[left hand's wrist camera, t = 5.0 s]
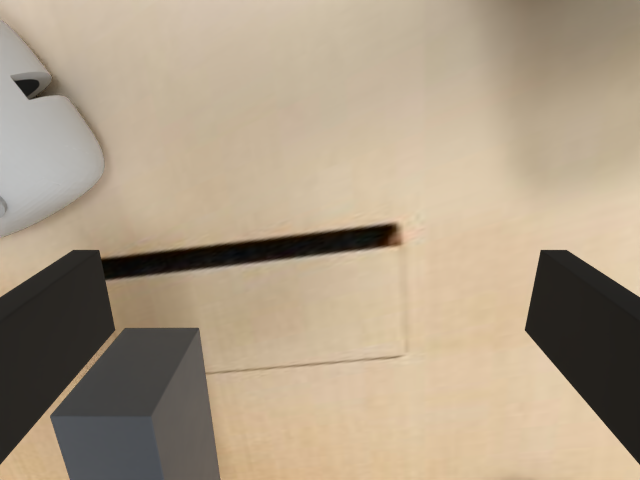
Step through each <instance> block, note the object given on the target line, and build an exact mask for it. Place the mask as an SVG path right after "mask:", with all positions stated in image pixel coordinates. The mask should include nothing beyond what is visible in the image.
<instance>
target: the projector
mask: <svg viewBox="0 0 640 480" xmlns="http://www.w3.org/2000/svg"><path fill="white" fill-rule="evenodd" d="M51 79H52V77H51V75H50V73H49V72H48V71H47V69H46V68H45V67H44V65H43V64H42V63H41V62H40V60H39V59H38V58H37V57H36V55H35V54H34V53H33V51H32V50H31V49H30V48H29V47H28V46H27V44H26V43H25V42H24V41H23V40H22V38H21V37H20V36H19V35H18V34H17V33H16V32H15V31H14V30H13V29H12V28H11V27H10V26H9V25H7V24H6V23H5V22H4V21H2V20H1V19H0V238H1V237H4V236H7V235H10V234H12V233H15V232H17V231H20V230H22V229H25V228H27V227H29V226H31V225H33V224H35V223H37V222H39V221H41V220H43V219H45V218H47V217H49V216H50V215H52V214H54V213H56V212H57V211H59V210H61V209H62V208H64V207H65V206H67V205H69V204H70V203H72V202H73V201H75V200H76V199H77V198H79V197H80V196H82V195H83V194H84V193H86V192H87V191H88V190H89V189H90V188H92V187H93V186H94V185H95V184H96V183H97V181H98V180H99V179H100V177H101V176H102V174H103V172H104V157H103V152H102V149H101V147H100V145H99V143H98V141H97V139H96V137H95V135H94V134H93V132H92V131H91V129H90V128H89V126H88V125H87V123H86V122H85V120H84V119H83V118H82V116H81V115H80V113H79V112H78V111H77V109H76V108H75V107H74V105H73V104H72V102H71V101H70V100H69V98H67V97H65V96H61V95H52V96H45V97H40V98H35V99H32V98H33V97H35V96H36V95H37V94H39V93H40V92H41V91H43V90H44V89H45V88H46V87H47V86H48V85H49V84H50V82H51ZM30 99H31V100H30Z"/></svg>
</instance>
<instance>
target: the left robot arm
mask: <svg viewBox="0 0 640 480" xmlns="http://www.w3.org/2000/svg"><path fill="white" fill-rule="evenodd" d="M114 331H115V327H114V322H113V317H112V312H111V307H110V302H109V297H108V292H107V287H106V282H105V277H104V272H103V267H102V262H101V257H100V252H99V250H73V251H71V252H70V253H68V254H67V255H65V256H63V257H62V258H60V259H59V260H57V261H56V262H54V263H53V264H51V265H50V266H48V267H46V268H45V269H43V270H42V271H40V272H39V273H37V274H36V275H34V276H33V277H31V278H29V279H28V280H26V281H25V282H23V283H22V284H20V285H19V286H17V287H16V288H14V289H12V290H11V291H9V292H8V293H6V294H5V295H3V296H2V297H0V464H1V463H2V462H3V461H4V460H5V458H6V457H7V456H8V455H9V454H10V453H11V451H12V450H13V449H14V448H15V447H16V446H17V444H18V443H19V442H20V441H21V440H22V439H23V437H24V436H25V435H26V434H27V433H28V432H29V430H30V429H31V428H32V427H33V426H34V425H35V423H36V422H37V421H38V420H39V419H40V417H41V416H42V415H43V414H44V413H45V412H46V410H47V409H48V408H49V407H50V406H51V405H52V403H53V402H54V401H55V400H56V399H57V398H58V396H59V395H60V394H61V393H62V392H63V391H64V389H65V388H66V387H67V386H68V385H69V384H70V382H71V381H72V380H73V379H74V378H75V377H76V375H77V374H78V373H79V372H80V371H81V370H82V368H83V367H84V366H85V365H86V364H87V363H88V361H89V360H90V359H91V358H92V357H93V355H94V354H95V353H96V352H97V351H98V350H99V348H100V347H101V346H102V345H103V344H104V343H105V341H106V340H107V339H108V338H109V337H110V336H111V334H112V333H113V332H114ZM525 331H526V332H527V333H528V334H529V336H530V337H531V338H532V339H533V340H534V341H535V343H536V344H537V345H538V346H539V347H540V348H541V350H542V351H543V352H544V353H545V354H546V355H547V357H548V358H549V359H550V360H551V361H552V363H553V364H554V365H555V366H556V367H557V368H558V370H559V371H560V372H561V373H562V374H563V375H564V377H565V378H566V379H567V380H568V381H569V382H570V384H571V385H572V386H573V387H574V388H575V389H576V391H577V392H578V393H579V394H580V395H581V396H582V398H583V399H584V400H585V401H586V402H587V403H588V405H589V406H590V407H591V408H592V409H593V410H594V412H595V413H596V414H597V415H598V416H599V417H600V419H601V420H602V421H603V422H604V423H605V425H606V426H607V427H608V428H609V429H610V430H611V432H612V433H613V434H614V435H615V436H616V437H617V439H618V440H619V441H620V442H621V443H622V444H623V446H624V447H625V448H626V449H627V450H628V451H629V453H630V454H631V455H632V456H633V457H634V458H635V460H636V461H637V462H638V463H639V464H640V297H638V296H637V295H635V294H634V293H632V292H631V291H629V290H628V289H626V288H624V287H623V286H621V285H620V284H618V283H617V282H615V281H614V280H612V279H611V278H609V277H607V276H606V275H604V274H603V273H601V272H600V271H598V270H597V269H595V268H594V267H592V266H590V265H589V264H587V263H586V262H584V261H583V260H581V259H580V258H578V257H577V256H575V255H573V254H572V253H570V252H569V251H567V250H541V252H540V257H539V262H538V267H537V272H536V277H535V282H534V287H533V292H532V297H531V302H530V307H529V312H528V317H527V322H526V327H525Z"/></svg>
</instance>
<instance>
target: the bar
mask: <svg viewBox="0 0 640 480" xmlns="http://www.w3.org/2000/svg"><path fill="white" fill-rule="evenodd" d="M50 418H51V421H52V424H53V427H54V431H55V434H56V437H57V440H58V443H59V446H60V450H61V453H62V456H63V459H64V462H65V465H66V468H67V472H68V475H69V478H70V480H220V474H219V467H218V460H217V453H216V446H215V438H214V431H213V424H212V417H211V410H210V403H209V396H208V389H207V382H206V375H205V368H204V361H203V353H202V346H201V339H200V332H199V328H125V329H124V330H123V331H122V332H121V333H120V335H119V336H118V337H117V338H116V339H115V340H114V342H113V343H112V344H111V345H110V346H109V347H108V349H107V350H106V351H105V352H104V353H103V354H102V356H101V357H100V358H99V359H98V360H97V361H96V363H95V364H94V365H93V366H92V367H91V369H90V370H89V371H88V372H87V373H86V374H85V376H84V377H83V378H82V379H81V380H80V381H79V383H78V384H77V385H76V386H75V387H74V388H73V390H72V391H71V392H70V393H69V394H68V396H67V397H66V398H65V399H64V400H63V401H62V403H61V404H60V405H59V406H58V407H57V408H56V410H55V411H54V412H53V413H52V414H51V416H50Z"/></svg>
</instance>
